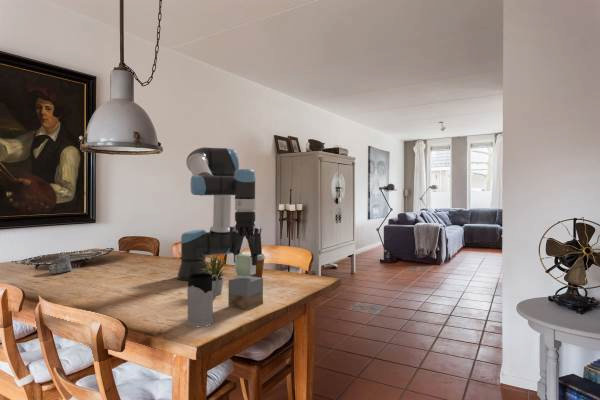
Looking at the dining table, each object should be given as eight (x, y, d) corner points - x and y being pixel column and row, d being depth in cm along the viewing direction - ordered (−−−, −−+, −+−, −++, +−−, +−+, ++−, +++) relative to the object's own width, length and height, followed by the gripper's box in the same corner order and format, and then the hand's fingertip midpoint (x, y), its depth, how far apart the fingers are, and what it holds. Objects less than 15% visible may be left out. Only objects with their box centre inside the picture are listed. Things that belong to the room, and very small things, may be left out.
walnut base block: (228, 307, 132) (228, 293, 132) (244, 300, 140) (244, 288, 140) (247, 311, 127) (247, 297, 127) (262, 304, 135) (262, 291, 135)
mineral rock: (50, 276, 182) (50, 256, 181) (41, 274, 187) (40, 255, 187) (77, 272, 192) (77, 253, 192) (67, 269, 198) (67, 251, 198)
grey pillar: (180, 325, 113) (179, 277, 113) (207, 311, 126) (207, 269, 126) (203, 328, 110) (203, 280, 110) (228, 314, 123) (228, 270, 123)
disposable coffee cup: (266, 277, 179) (266, 253, 179) (263, 281, 169) (262, 256, 169) (248, 276, 180) (248, 253, 180) (243, 281, 170) (243, 256, 170)
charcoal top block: (228, 293, 132) (228, 279, 132) (244, 287, 140) (244, 275, 140) (247, 297, 127) (247, 283, 127) (262, 291, 135) (262, 277, 135)
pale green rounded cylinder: (244, 271, 138) (244, 253, 138) (257, 273, 134) (257, 254, 134) (233, 274, 132) (233, 255, 132) (246, 276, 129) (246, 257, 129)
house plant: (193, 291, 153) (193, 252, 153) (226, 287, 159) (225, 250, 159) (198, 299, 140) (197, 258, 140) (233, 295, 146) (233, 255, 145)
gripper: (218, 210, 135) (219, 271, 135) (259, 211, 125) (259, 277, 125) (232, 210, 141) (232, 268, 142) (272, 211, 131) (272, 274, 131)
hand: (245, 272), depth 133 cm, fingers closed on pale green rounded cylinder, 6 cm apart
